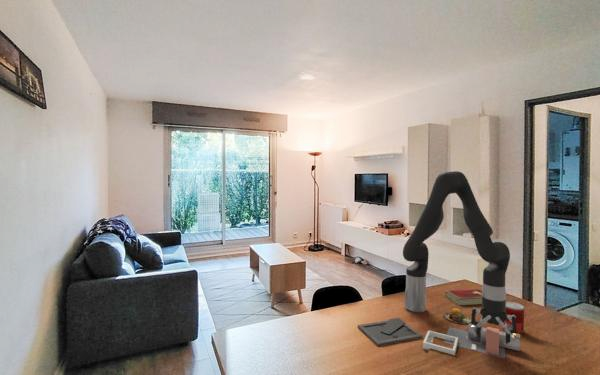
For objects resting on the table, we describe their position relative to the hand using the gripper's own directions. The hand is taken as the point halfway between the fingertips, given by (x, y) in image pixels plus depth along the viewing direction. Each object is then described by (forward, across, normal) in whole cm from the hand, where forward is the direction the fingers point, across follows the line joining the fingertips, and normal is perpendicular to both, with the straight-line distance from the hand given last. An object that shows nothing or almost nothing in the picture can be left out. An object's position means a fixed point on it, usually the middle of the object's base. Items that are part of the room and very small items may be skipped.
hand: (493, 339), depth 116 cm
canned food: (+6, +7, +26) cm, 28 cm away
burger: (+6, -14, +23) cm, 28 cm away
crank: (+4, 0, +6) cm, 8 cm away
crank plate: (+6, -6, +5) cm, 10 cm away
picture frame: (+6, -37, -5) cm, 38 cm away
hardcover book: (+6, -11, +54) cm, 56 cm away
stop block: (+5, 0, 0) cm, 5 cm away
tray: (+6, -17, -5) cm, 19 cm away
